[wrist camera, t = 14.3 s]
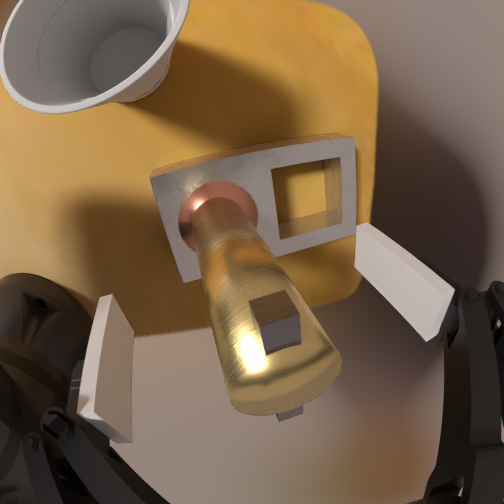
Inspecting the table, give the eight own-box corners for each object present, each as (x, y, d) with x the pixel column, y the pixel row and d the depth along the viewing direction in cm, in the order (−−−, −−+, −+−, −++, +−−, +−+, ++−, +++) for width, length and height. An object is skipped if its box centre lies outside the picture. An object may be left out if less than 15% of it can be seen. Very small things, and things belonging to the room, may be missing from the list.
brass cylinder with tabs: (181, 189, 18) (204, 347, 6) (237, 175, 19) (351, 299, 7) (202, 265, 21) (247, 434, 10) (251, 252, 22) (334, 403, 10)
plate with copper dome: (181, 264, 25) (183, 284, 22) (152, 169, 20) (149, 178, 17) (339, 221, 27) (356, 234, 24) (335, 133, 22) (355, 137, 20)
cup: (199, 76, 17) (228, 32, 7) (111, 132, 17) (44, 157, 7) (153, 4, 13) (142, -81, 3) (66, 60, 13) (-19, 31, 3)
